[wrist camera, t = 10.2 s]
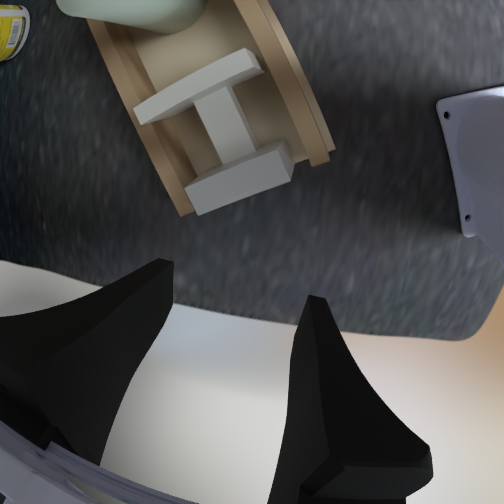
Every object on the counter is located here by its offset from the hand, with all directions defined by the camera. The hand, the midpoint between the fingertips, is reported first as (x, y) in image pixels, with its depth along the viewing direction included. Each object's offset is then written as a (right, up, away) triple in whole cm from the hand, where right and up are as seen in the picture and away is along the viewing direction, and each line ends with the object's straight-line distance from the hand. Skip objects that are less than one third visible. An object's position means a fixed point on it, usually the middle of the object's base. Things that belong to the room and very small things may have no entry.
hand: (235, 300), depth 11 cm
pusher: (0, +9, +6) cm, 11 cm away
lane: (-3, +16, +4) cm, 17 cm away
